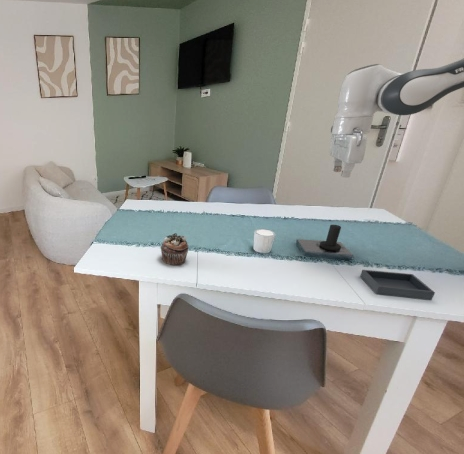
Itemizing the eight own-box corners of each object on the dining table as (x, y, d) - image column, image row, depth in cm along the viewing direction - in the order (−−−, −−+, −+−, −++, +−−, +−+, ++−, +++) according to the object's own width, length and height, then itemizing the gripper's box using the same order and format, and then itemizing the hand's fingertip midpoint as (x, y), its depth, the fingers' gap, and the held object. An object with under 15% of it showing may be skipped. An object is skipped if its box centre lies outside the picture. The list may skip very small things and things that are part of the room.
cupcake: (192, 257, 105) (194, 232, 101) (180, 269, 98) (181, 243, 94) (168, 251, 111) (169, 227, 107) (155, 261, 104) (155, 236, 100)
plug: (334, 248, 106) (342, 223, 102) (341, 256, 100) (350, 230, 96) (315, 247, 107) (322, 222, 103) (321, 255, 102) (328, 229, 98)
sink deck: (338, 246, 107) (340, 241, 106) (351, 259, 98) (353, 254, 97) (295, 243, 111) (296, 238, 110) (304, 256, 102) (305, 251, 101)
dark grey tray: (409, 281, 86) (412, 274, 85) (431, 300, 78) (435, 292, 77) (359, 276, 89) (362, 269, 88) (376, 294, 81) (378, 286, 80)
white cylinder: (272, 247, 109) (276, 230, 106) (271, 255, 104) (275, 237, 101) (252, 244, 112) (255, 227, 110) (250, 251, 107) (253, 234, 104)
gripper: (378, 128, 76) (365, 180, 80) (353, 126, 93) (344, 169, 98) (348, 129, 78) (337, 180, 83) (329, 127, 96) (321, 169, 100)
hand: (340, 174), depth 91 cm, fingers open, 8 cm apart
